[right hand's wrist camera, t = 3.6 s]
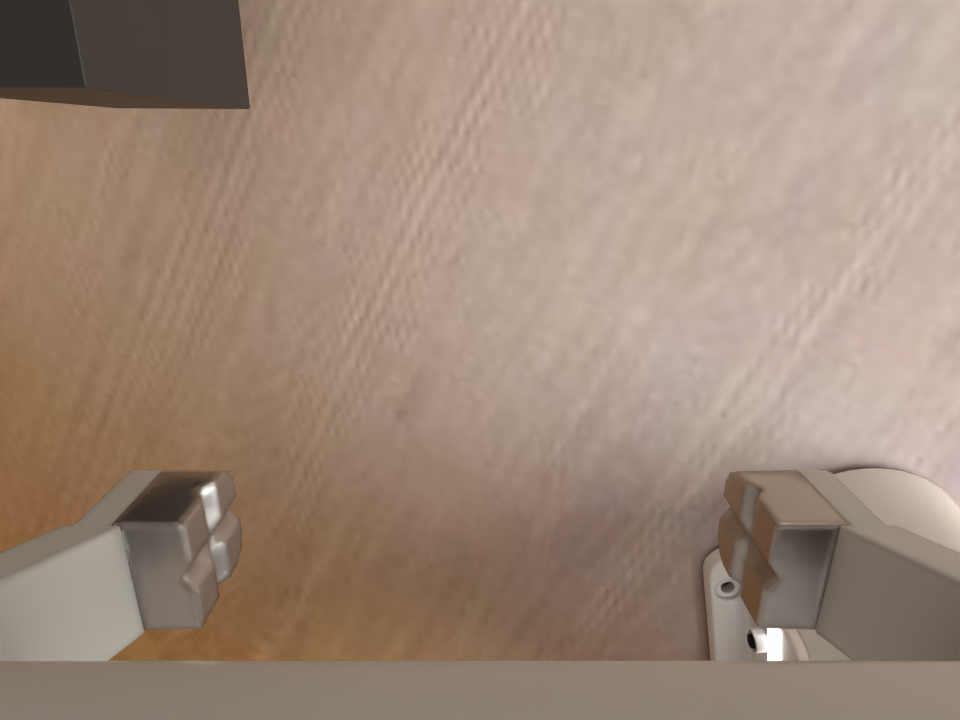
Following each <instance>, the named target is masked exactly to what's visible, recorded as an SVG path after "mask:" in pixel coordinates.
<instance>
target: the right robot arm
mask: <svg viewBox="0 0 960 720" xmlns="http://www.w3.org/2000/svg"><path fill="white" fill-rule="evenodd" d="M235 496H236V491H235V486H234V481H233V477H232V476H231V475H230V474H229V472H228V471H191V470H167V471H166V470H164V469H163V470H135V471H130V472H129V473H128V474H127V475H126V476H125V477H124V478H123V479H122V480H120V481H119V482H118V483H117V484H116V485H115V486H114V487H113V488H112V489H111V490H110V491H109V492H108V493H107V494H106V495H105V496H104V497H103V498H102V499H101V500H100V501H99V502H98V503H97V504H96V505H95V506H93V507H92V508H91V509H90V510H89V511H88V512H87V513H86V514H85V515H84V516H83V517H82V518H81V519H80V520H79V521H78V522H77V523H76V524H75V525H74V526H61V527H59V528H57V529H54V530H52V531H50V532H47V533H45V534H43V535H40V536H38V537H36V538H33V539H31V540H29V541H26V542H24V543H22V544H19V545H17V546H15V547H12V548H10V549H8V550H5V551H3V552H1V553H0V720H960V509H959V508H958V506H957V505H956V503H955V502H954V501H953V500H952V498H951V497H950V496H949V495H948V494H947V493H946V492H945V491H944V490H942V489H941V488H940V487H938V486H937V485H935V484H934V483H932V482H931V481H929V480H927V479H925V478H923V477H920V476H918V475H915V474H912V473H909V472H905V471H900V470H894V469H886V468H865V469H856V470H849V471H844V472H840V473H836V474H832V473H831V472H829V471H826V470H823V469H818V470H785V471H744V472H730V474H729V476H728V478H727V480H726V484H725V490H724V496H725V498H726V499H727V501H728V503H729V504H730V506H731V508H730V509H729V510H728V511H727V512H726V513H725V514H724V515H723V516H722V517H721V518H720V523H719V531H718V543H719V548H717V549H716V550H714V551H713V552H711V553H710V554H709V555H708V556H707V557H706V558H705V560H704V562H703V580H704V592H705V603H706V615H707V627H708V638H709V650H710V661H108V660H109V659H111V658H112V657H113V656H115V655H116V654H117V653H118V652H120V651H121V650H122V649H124V648H125V647H126V646H128V645H129V644H130V643H131V642H133V641H134V640H135V639H137V638H138V637H139V636H141V635H142V634H143V633H144V630H151V629H187V628H202V627H203V625H204V623H205V622H206V620H207V618H208V616H209V615H210V613H211V611H212V609H213V608H214V606H215V604H216V602H217V600H218V599H219V597H220V595H219V589H218V585H219V584H220V583H222V582H223V581H225V580H226V579H228V578H229V577H231V575H232V573H233V571H234V570H235V568H236V566H237V564H238V560H239V555H240V551H241V547H242V529H241V522H240V518H239V517H238V516H237V515H236V514H235V513H234V512H233V511H232V510H231V509H230V508H229V506H230V504H231V503H232V501H233V499H234V498H235ZM725 582H729V583H728V584H726V585H722V584H723V583H725Z"/></svg>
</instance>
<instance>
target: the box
mask: <svg viewBox="0 0 960 720" xmlns="http://www.w3.org/2000/svg"><path fill="white" fill-rule="evenodd" d="M0 98H6V99H17V100H29V101H41V102H53V103H65V104H76V105H88V106H100V107H112V108H191V109H249V108H250V106H249V96H248V87H247V78H246V69H245V60H244V51H243V41H242V32H241V23H240V14H239V5H238V0H0Z"/></svg>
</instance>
